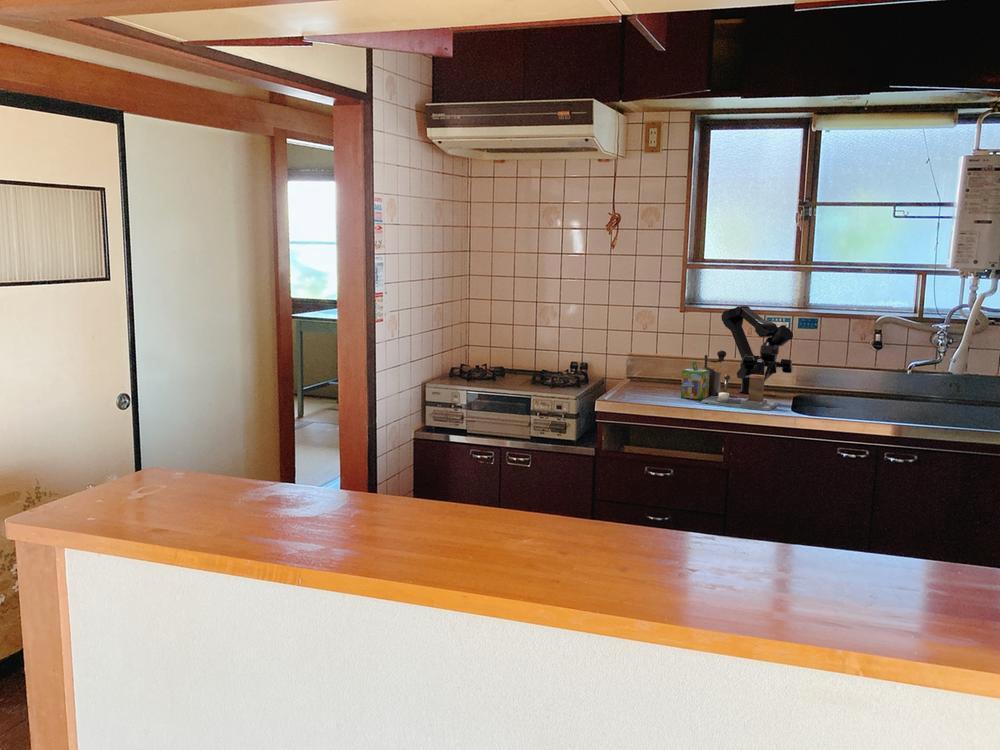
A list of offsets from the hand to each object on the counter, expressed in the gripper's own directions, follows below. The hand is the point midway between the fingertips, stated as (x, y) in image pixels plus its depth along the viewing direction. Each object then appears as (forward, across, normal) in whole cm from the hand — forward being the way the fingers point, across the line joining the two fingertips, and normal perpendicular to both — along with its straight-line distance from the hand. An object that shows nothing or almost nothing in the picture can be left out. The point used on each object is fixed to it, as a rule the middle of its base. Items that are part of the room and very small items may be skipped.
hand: (763, 380), depth 337 cm
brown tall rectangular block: (+10, -1, +1) cm, 10 cm away
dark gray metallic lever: (+8, -14, 0) cm, 16 cm away
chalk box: (+9, -26, +4) cm, 28 cm away
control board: (+12, -7, +1) cm, 14 cm away
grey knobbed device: (-1, -25, +14) cm, 29 cm away
